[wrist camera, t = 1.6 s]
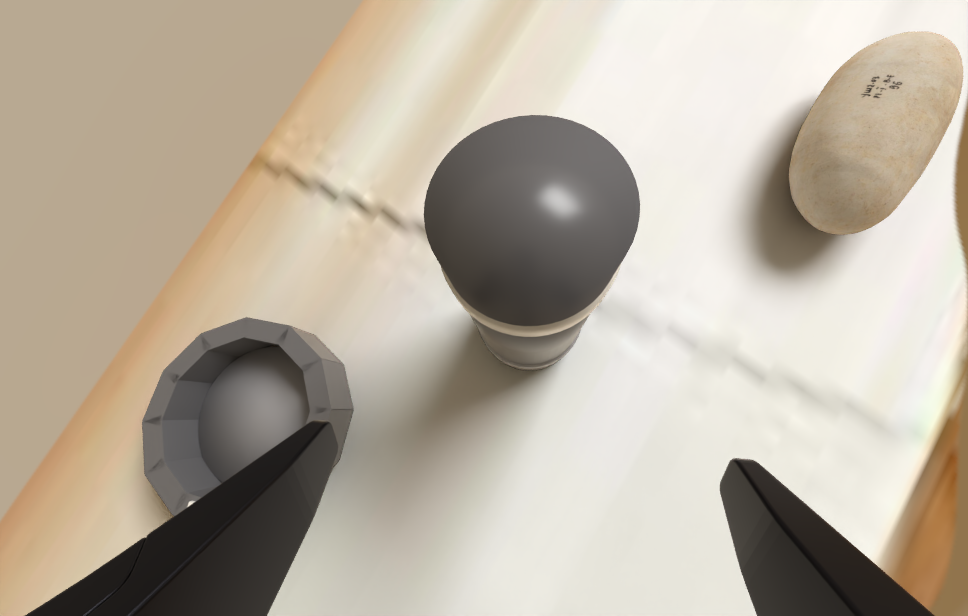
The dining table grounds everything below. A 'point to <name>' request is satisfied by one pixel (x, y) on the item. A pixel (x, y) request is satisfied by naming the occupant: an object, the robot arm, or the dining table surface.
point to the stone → (874, 131)
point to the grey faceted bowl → (237, 405)
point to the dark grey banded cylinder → (531, 231)
